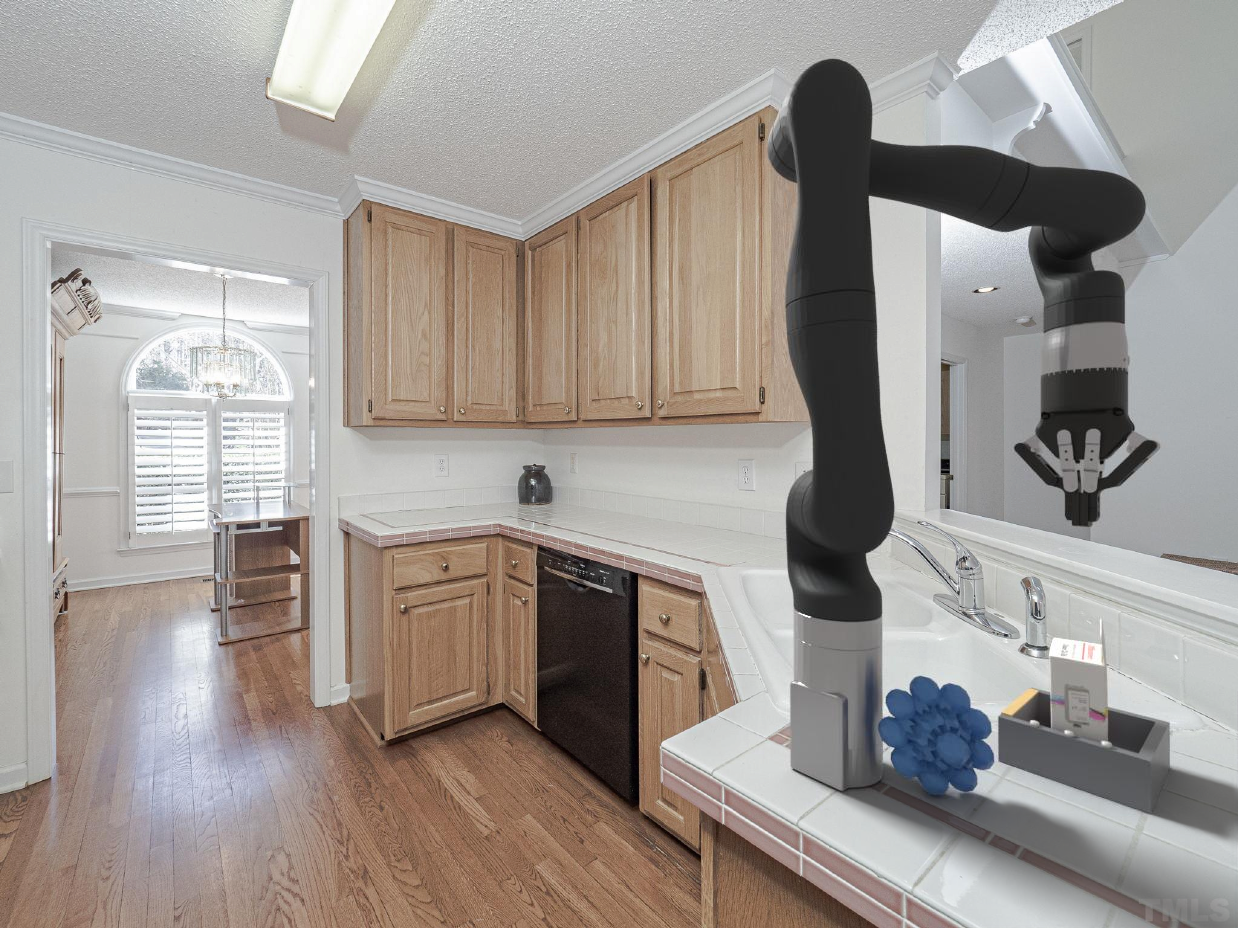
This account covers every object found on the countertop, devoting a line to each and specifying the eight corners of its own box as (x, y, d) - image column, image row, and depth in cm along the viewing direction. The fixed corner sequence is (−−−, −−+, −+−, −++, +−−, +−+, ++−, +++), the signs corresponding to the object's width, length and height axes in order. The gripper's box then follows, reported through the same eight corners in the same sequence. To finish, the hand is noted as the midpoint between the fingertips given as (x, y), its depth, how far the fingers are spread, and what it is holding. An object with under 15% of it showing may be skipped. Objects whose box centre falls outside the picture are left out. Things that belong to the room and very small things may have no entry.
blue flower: (900, 821, 53) (900, 694, 53) (868, 780, 60) (867, 667, 60) (1023, 820, 53) (1023, 692, 53) (977, 779, 60) (977, 666, 60)
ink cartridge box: (1052, 732, 68) (1051, 610, 68) (1106, 745, 65) (1106, 617, 65) (1048, 762, 61) (1047, 627, 61) (1108, 778, 58) (1108, 635, 58)
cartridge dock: (1150, 813, 54) (1150, 757, 54) (998, 760, 64) (998, 712, 64) (1169, 767, 62) (1169, 718, 62) (1032, 726, 72) (1031, 684, 72)
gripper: (1002, 374, 65) (1002, 523, 65) (1159, 357, 55) (1158, 534, 55) (1022, 380, 70) (1022, 519, 70) (1170, 366, 60) (1170, 528, 60)
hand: (1082, 525), depth 63 cm, fingers closed
